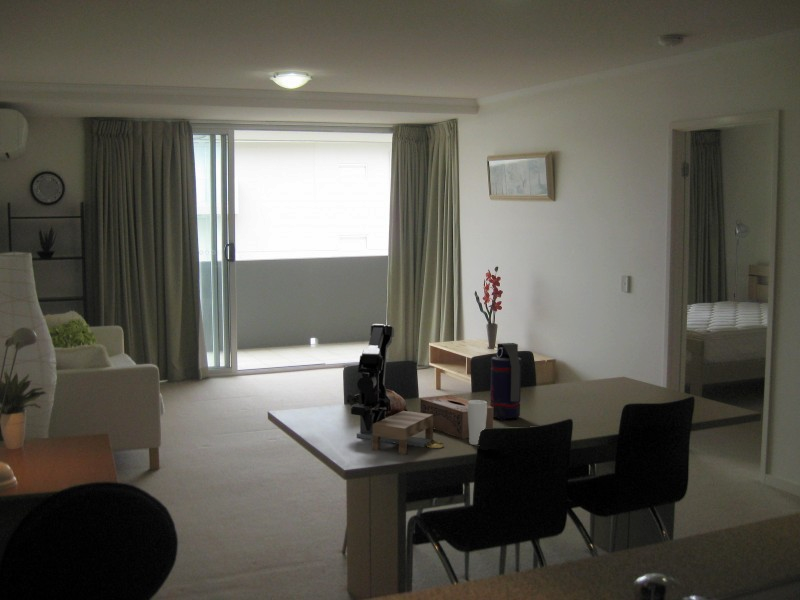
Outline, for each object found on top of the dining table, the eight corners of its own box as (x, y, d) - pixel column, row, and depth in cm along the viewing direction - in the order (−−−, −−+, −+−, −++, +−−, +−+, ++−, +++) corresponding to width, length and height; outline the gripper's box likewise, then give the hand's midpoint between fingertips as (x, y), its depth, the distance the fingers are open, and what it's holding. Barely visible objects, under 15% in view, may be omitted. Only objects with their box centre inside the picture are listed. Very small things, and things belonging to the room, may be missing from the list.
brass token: (430, 443, 292) (430, 440, 292) (446, 446, 289) (446, 442, 289) (423, 447, 286) (423, 444, 286) (439, 450, 284) (439, 446, 284)
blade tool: (364, 433, 304) (365, 412, 303) (430, 443, 292) (430, 421, 291) (356, 437, 298) (356, 415, 298) (423, 447, 286) (423, 425, 285)
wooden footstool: (402, 435, 302) (403, 410, 301) (432, 439, 297) (433, 414, 296) (372, 450, 282) (372, 424, 281) (404, 454, 276) (404, 428, 275)
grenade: (484, 415, 335) (486, 341, 332) (510, 413, 339) (512, 340, 336) (501, 423, 322) (503, 346, 319) (528, 420, 326) (530, 345, 324)
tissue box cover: (420, 424, 320) (420, 398, 319) (449, 419, 328) (450, 394, 327) (462, 439, 299) (463, 411, 298) (492, 433, 307) (493, 407, 306)
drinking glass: (469, 440, 296) (470, 399, 294) (487, 442, 294) (488, 400, 292) (465, 445, 289) (465, 403, 288) (484, 447, 287) (485, 404, 286)
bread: (352, 413, 341) (351, 388, 340) (390, 406, 353) (389, 383, 353) (376, 418, 328) (375, 393, 328) (414, 411, 340) (414, 387, 340)
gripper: (363, 380, 309) (363, 421, 311) (337, 389, 293) (337, 432, 294) (390, 383, 304) (389, 425, 306) (365, 392, 288) (364, 436, 289)
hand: (370, 429), depth 299 cm, fingers closed on blade tool, 2 cm apart
